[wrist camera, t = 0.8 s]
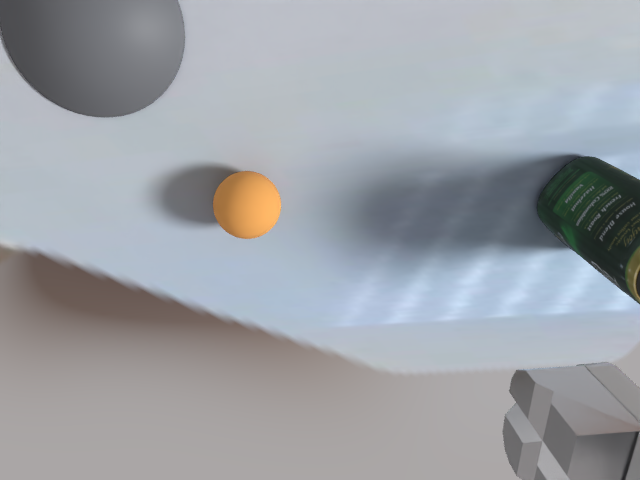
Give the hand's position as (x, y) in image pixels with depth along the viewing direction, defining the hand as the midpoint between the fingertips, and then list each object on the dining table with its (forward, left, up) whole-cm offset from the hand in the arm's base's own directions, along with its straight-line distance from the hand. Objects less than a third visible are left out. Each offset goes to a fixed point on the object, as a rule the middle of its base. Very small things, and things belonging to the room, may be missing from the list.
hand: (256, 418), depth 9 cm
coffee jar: (+22, +26, -40) cm, 52 cm away
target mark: (-6, -9, -40) cm, 41 cm away
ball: (+10, -3, -37) cm, 38 cm away
